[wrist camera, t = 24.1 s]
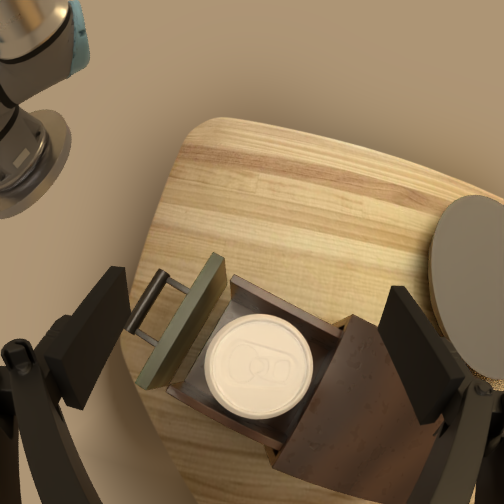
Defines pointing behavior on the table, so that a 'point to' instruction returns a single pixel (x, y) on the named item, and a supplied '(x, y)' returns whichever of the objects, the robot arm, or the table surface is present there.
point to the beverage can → (258, 366)
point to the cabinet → (358, 424)
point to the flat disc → (470, 281)
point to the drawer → (189, 325)
